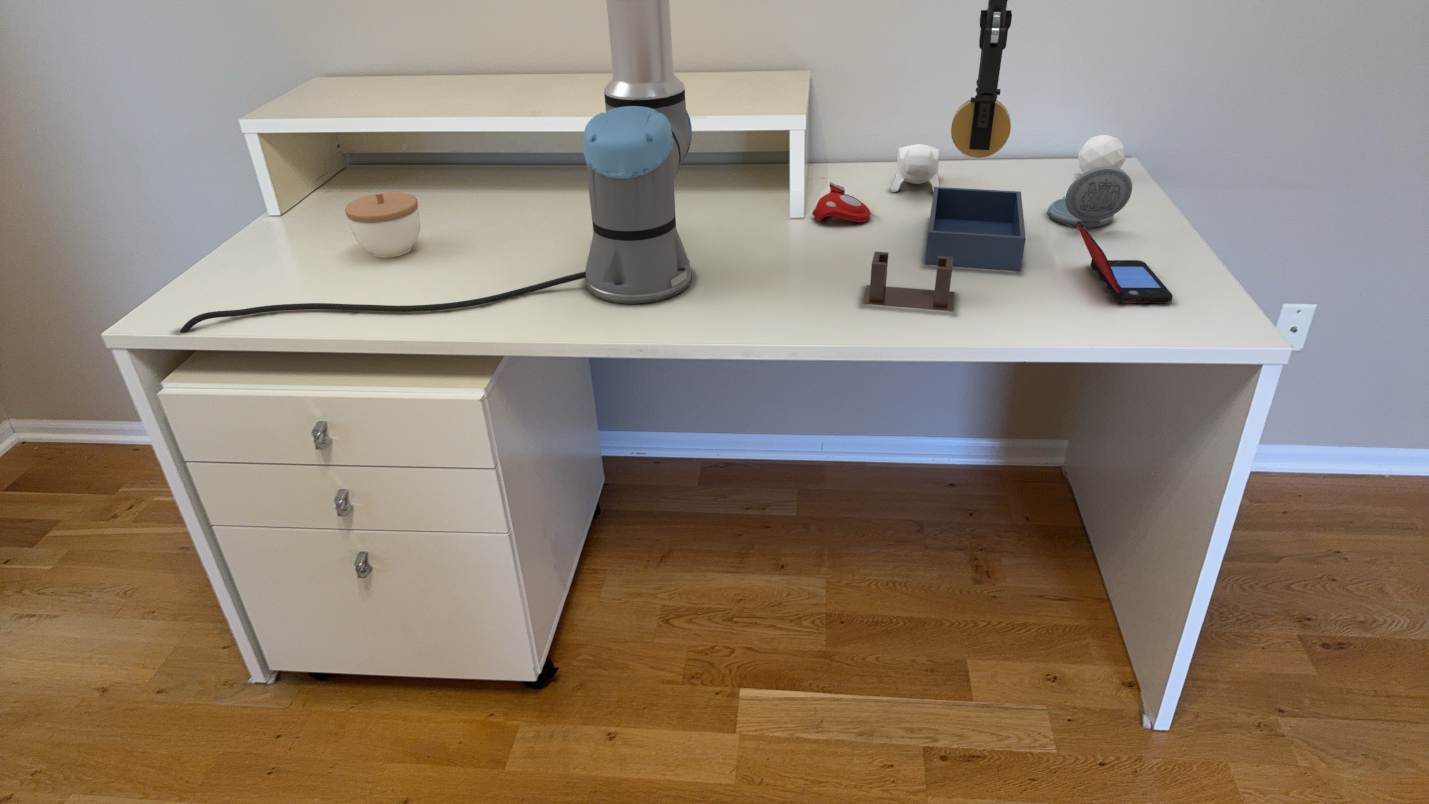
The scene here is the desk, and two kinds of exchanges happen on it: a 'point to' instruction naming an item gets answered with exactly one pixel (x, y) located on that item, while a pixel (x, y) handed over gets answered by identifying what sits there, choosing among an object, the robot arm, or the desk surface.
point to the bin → (976, 228)
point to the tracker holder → (841, 206)
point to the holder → (907, 296)
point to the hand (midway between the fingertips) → (979, 145)
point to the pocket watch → (1093, 198)
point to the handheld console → (1125, 276)
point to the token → (964, 126)
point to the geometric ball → (1101, 153)
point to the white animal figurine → (917, 166)
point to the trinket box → (385, 223)
